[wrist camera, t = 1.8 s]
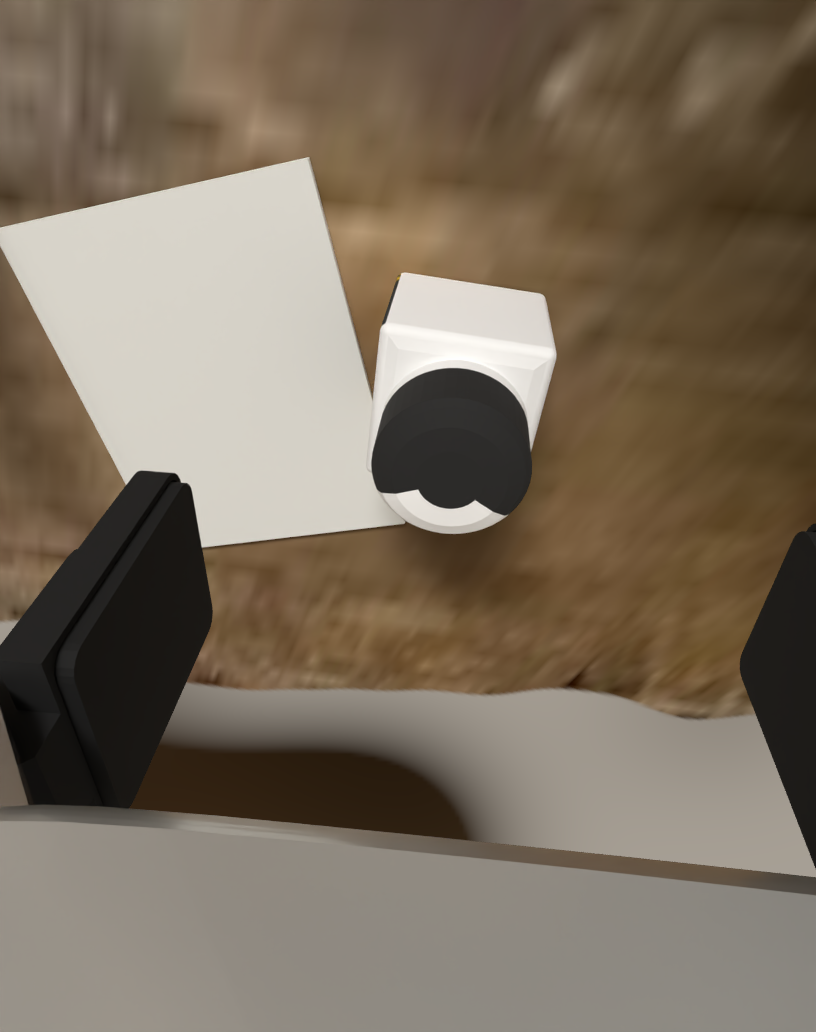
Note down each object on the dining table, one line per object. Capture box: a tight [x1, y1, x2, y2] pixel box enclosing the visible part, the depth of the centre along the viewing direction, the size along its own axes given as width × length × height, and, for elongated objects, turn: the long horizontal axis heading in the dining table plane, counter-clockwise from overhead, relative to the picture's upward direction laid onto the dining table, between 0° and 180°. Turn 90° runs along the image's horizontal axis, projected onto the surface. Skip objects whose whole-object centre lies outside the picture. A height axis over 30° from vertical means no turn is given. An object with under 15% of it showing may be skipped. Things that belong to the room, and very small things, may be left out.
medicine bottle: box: [366, 273, 556, 534], centre depth 31 cm, size 7×7×12 cm
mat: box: [0, 157, 405, 547], centre depth 38 cm, size 16×20×1 cm
